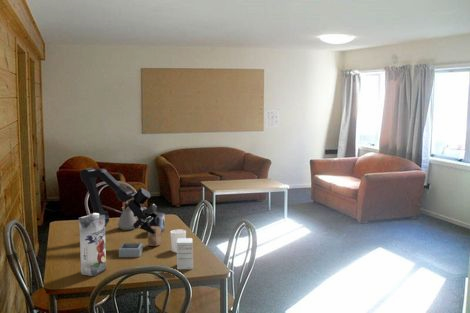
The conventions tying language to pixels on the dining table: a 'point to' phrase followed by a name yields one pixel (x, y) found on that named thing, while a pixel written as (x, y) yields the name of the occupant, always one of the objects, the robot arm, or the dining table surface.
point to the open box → (130, 249)
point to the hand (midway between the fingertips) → (156, 232)
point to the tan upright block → (154, 236)
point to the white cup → (174, 236)
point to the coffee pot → (125, 218)
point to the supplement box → (184, 253)
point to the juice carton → (92, 244)
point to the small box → (161, 221)
